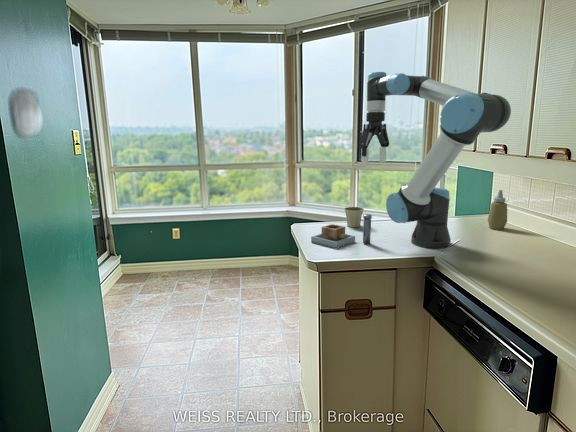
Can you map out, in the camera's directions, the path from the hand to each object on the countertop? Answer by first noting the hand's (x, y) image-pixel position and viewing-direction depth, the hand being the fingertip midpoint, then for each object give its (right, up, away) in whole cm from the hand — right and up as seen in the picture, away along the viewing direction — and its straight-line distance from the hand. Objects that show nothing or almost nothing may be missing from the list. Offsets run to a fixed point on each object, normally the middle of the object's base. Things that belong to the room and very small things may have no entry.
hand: (373, 163), depth 166 cm
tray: (-18, -33, -4) cm, 38 cm away
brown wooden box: (-18, -33, -4) cm, 38 cm away
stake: (-4, -34, -6) cm, 35 cm away
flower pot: (-5, -28, +23) cm, 36 cm away
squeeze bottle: (+60, -29, +15) cm, 69 cm away
